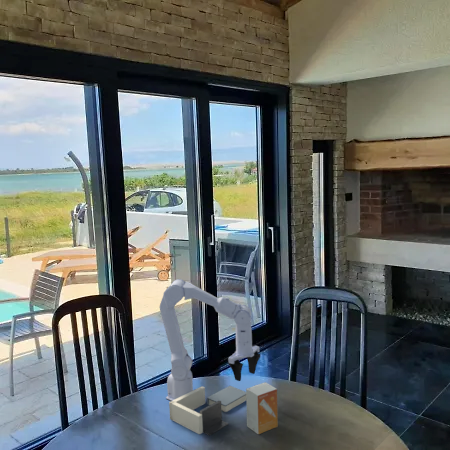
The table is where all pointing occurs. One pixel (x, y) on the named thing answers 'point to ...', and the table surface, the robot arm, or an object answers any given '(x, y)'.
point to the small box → (261, 407)
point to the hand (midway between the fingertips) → (245, 376)
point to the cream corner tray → (188, 410)
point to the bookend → (212, 418)
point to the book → (228, 398)
